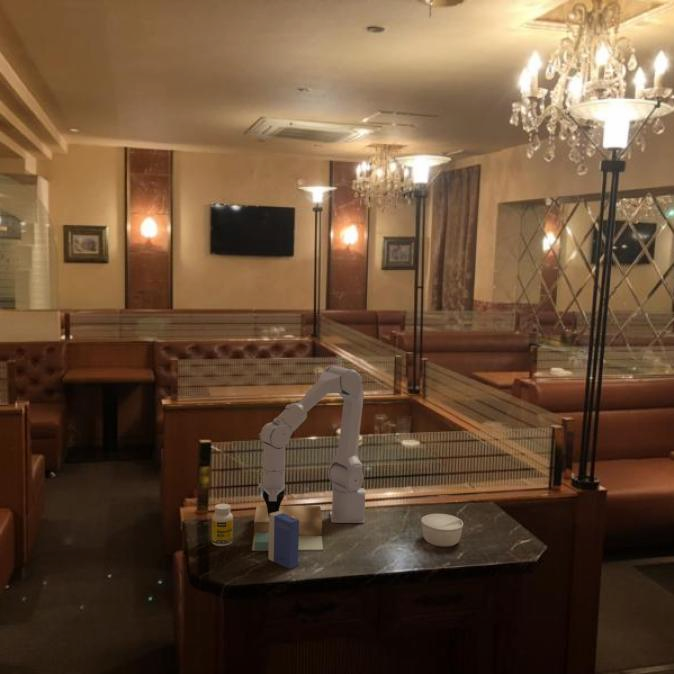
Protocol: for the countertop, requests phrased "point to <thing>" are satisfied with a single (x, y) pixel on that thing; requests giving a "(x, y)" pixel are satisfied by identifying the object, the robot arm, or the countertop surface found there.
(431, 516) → the ramekin
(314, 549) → the mat
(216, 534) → the supplement bottle
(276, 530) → the walkman
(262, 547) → the sage green box
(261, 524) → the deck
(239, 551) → the countertop surface
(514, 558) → the countertop surface
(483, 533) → the countertop surface
